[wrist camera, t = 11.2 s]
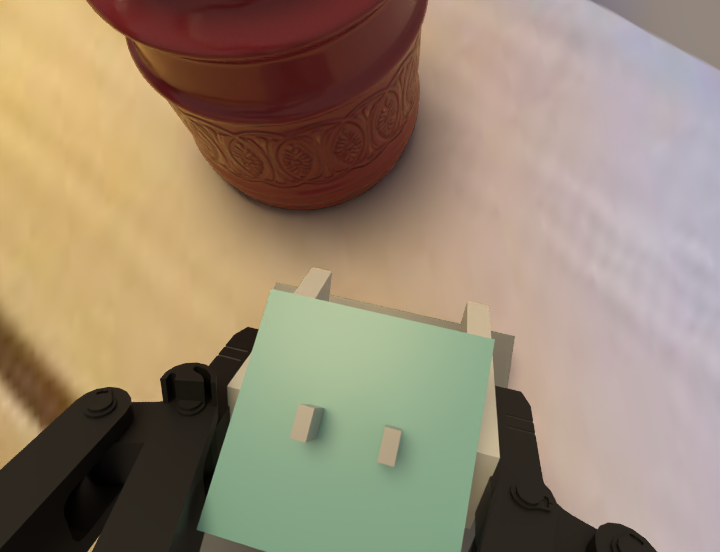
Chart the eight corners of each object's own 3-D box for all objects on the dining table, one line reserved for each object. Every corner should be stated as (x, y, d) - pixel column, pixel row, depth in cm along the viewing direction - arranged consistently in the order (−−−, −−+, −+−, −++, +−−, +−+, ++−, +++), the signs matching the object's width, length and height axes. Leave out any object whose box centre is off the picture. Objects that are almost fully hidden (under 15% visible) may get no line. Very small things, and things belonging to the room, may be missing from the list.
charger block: (418, 497, 17) (461, 645, 7) (300, 464, 18) (165, 549, 7) (442, 373, 19) (509, 329, 8) (330, 347, 19) (255, 272, 9)
